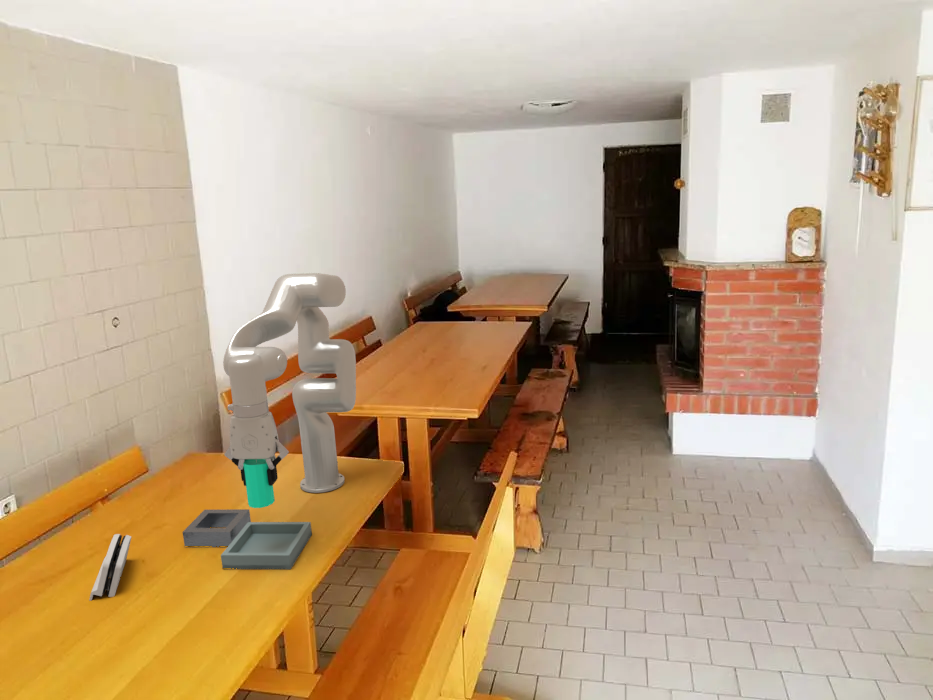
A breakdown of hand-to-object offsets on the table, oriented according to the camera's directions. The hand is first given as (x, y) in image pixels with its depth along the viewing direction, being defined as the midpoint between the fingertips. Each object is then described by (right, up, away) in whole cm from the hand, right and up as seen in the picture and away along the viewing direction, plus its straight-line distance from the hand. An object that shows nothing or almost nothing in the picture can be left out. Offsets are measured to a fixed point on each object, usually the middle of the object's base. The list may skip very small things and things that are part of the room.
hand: (260, 482), depth 166 cm
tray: (+1, -17, +4) cm, 18 cm away
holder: (-14, -16, +14) cm, 25 cm away
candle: (0, -5, +1) cm, 5 cm away
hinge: (-32, -21, -4) cm, 38 cm away
